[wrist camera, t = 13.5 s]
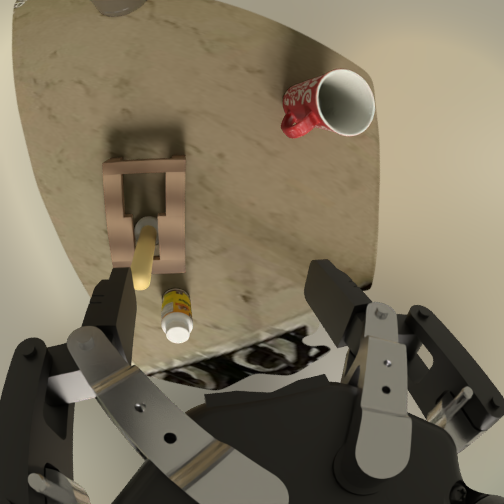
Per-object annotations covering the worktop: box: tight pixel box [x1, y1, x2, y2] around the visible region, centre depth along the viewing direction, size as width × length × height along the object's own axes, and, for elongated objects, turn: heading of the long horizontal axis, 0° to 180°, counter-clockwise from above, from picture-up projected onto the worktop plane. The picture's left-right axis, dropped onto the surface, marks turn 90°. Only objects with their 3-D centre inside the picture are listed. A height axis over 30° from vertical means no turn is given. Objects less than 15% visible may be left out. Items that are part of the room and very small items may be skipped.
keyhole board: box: [102, 155, 186, 274], centre depth 39 cm, size 18×12×5 cm, turn 174°
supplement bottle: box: [161, 289, 193, 343], centre depth 46 cm, size 6×6×10 cm
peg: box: [131, 216, 159, 290], centre depth 37 cm, size 5×5×15 cm
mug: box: [281, 69, 375, 138], centre depth 34 cm, size 13×9×14 cm
